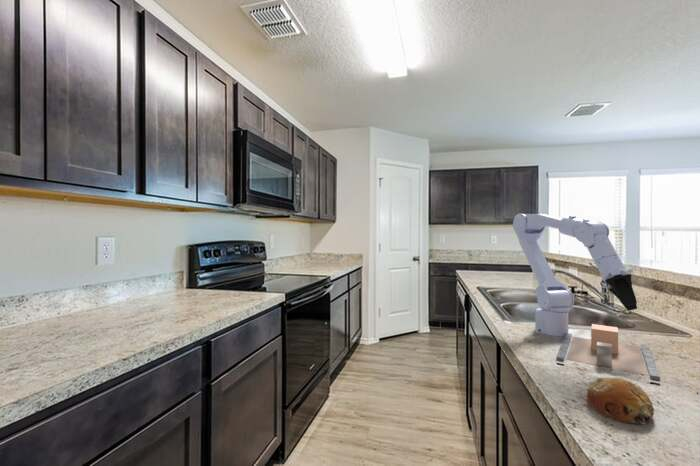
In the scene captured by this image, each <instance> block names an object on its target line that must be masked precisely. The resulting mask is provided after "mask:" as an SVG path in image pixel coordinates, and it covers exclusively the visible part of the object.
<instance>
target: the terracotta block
mask: <svg viewBox="0 0 700 466" xmlns="http://www.w3.org/2000/svg"><path fill="white" fill-rule="evenodd" d="M590 332H591V334H590V339H591V350H597V342H601V343H607V344H612V353H615V354H618V344H619V328H618V327H617V326H610V325H604V324H602V325H601V324H595V323H591V328H590Z"/></svg>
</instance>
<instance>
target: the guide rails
mask: <svg viewBox="0 0 700 466" xmlns="http://www.w3.org/2000/svg"><path fill="white" fill-rule="evenodd" d="M572 338H573V334H572V333H569V332H568V333H566V334H565V336H563V339H562V341H561V345H560V347H559V350H558V353H557V354H556V358H555V359H556V361H560V362H564V361H565V358H566V357H567V354H568V351H569V350H568V349H569V348H570V345H571V341H572ZM649 346H650V345H646V344H640V350H641V351H642V352H641V353H642V357H643V360H644V363H645V367H646V368H647V373H648V376H649V378H650V380H654V381H649V383H650V385H655V386H661V383H659V382H655V381H661V376H660V374H659V370H658V368H657V366H656V363H655V359H654V358H653V355H652V352H651V349H650V347H649ZM560 362H556V365H557V366H565V364H564V363H560Z"/></svg>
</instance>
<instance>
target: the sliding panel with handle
mask: <svg viewBox="0 0 700 466" xmlns="http://www.w3.org/2000/svg"><path fill="white" fill-rule="evenodd" d="M568 349H569V350H568V351H567V354H566V357H565V358H566V361H567V360H568V361H573V362H577V363H583V364H587V365H592V366H598V367H603V368H608V369H612V370H613V369H614V370H619V371H624V372H628V373H634V374H639V375H644V376H648V371H647V370H646V364H645V361H644V357H643V354H642V352H641V347H640V346H636V345H629V344H623V343H618V354H615V353H612V344H607V343H601V342H597V350H591V338H584V337H578V336H572V338H571V341H570V345H569V348H568Z"/></svg>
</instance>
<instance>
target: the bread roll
mask: <svg viewBox="0 0 700 466" xmlns="http://www.w3.org/2000/svg"><path fill="white" fill-rule="evenodd" d="M586 395H587V401H588V402H587V403H588V404H589V405H590V407H592V408H593V409H594V410H595V411H597V412H598V413H599V414H600V415H603V416H604V415H605V417H606V418H609V419H611V418H612V420H614V421H618V422H620V421H621V423H624V422H626V424H632V423H636V424H635V425H643V424H642V423H645V424H648V423H649V422H650V421H652V419H653V417H654V416H655V415H654V414H655V408H654V407H653V403H652V400H651V399H650V397H649V395H648V394H647V392H646V391H645V390H644V389H643V388H642V387H640V386H639V385H637V383H633V382H632V381H630V380H627V379H624V378H622V377H612V376H611V377H609V376H608V377H600V378H598V379H596V380H595V381H593V382H592V383H591V384H590V385H589V386H588V388H587V393H586Z"/></svg>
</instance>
